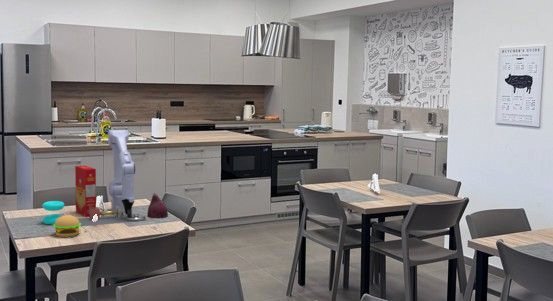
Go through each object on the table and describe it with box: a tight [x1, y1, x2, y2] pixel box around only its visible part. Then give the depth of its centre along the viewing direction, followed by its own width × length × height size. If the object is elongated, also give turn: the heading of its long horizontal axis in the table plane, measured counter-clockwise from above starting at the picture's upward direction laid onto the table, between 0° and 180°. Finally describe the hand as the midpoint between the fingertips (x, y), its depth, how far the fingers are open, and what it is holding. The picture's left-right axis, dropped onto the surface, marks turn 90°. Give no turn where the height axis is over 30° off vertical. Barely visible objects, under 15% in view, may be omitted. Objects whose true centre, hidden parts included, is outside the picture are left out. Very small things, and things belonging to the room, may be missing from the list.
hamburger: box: [52, 214, 81, 238], centre depth 265 cm, size 12×12×9 cm
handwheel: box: [126, 208, 146, 222], centre depth 294 cm, size 9×9×5 cm
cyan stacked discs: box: [41, 200, 65, 226], centre depth 286 cm, size 10×10×10 cm
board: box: [77, 213, 148, 227], centre depth 292 cm, size 17×32×1 cm, turn 119°
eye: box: [114, 205, 123, 219], centre depth 298 cm, size 6×3×6 cm, turn 29°
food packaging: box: [74, 165, 97, 218], centre depth 302 cm, size 15×5×25 cm, turn 37°
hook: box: [89, 206, 124, 220], centre depth 295 cm, size 4×16×6 cm, turn 119°
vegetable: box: [146, 192, 169, 219], centre depth 301 cm, size 10×10×15 cm
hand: (127, 214), depth 295 cm, fingers closed
